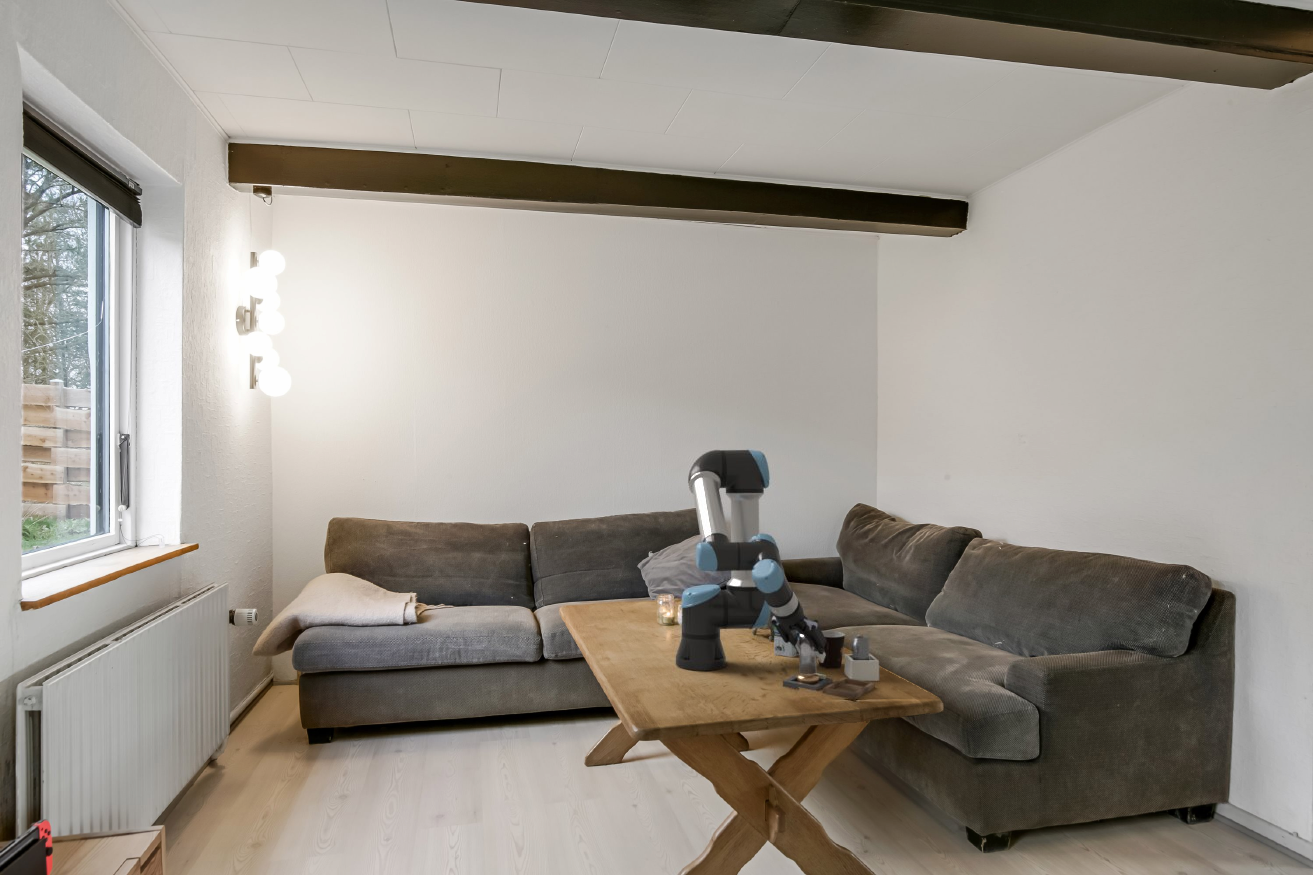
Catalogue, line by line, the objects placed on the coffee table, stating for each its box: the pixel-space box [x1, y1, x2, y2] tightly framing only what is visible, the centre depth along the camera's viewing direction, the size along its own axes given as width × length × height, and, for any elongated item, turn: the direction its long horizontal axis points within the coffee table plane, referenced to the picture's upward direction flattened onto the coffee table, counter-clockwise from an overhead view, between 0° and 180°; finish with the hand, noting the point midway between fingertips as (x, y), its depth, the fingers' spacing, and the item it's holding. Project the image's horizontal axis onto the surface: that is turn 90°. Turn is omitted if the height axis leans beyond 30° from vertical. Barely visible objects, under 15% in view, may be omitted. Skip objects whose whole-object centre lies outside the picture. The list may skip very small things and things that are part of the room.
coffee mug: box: [817, 630, 846, 670], centre depth 235 cm, size 12×9×10 cm
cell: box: [798, 633, 818, 674], centre depth 218 cm, size 5×5×12 cm
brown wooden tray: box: [822, 677, 876, 702], centre depth 212 cm, size 13×9×2 cm
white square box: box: [843, 653, 880, 682], centre depth 224 cm, size 8×8×6 cm
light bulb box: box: [773, 626, 799, 658], centre depth 254 cm, size 11×7×11 cm, turn 143°
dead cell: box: [851, 633, 870, 660], centre depth 225 cm, size 5×5×12 cm
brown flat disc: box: [796, 672, 819, 684], centre depth 218 cm, size 6×6×1 cm
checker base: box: [782, 673, 834, 692], centre depth 218 cm, size 10×10×2 cm
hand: (814, 656), depth 221 cm, fingers closed on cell, 4 cm apart
